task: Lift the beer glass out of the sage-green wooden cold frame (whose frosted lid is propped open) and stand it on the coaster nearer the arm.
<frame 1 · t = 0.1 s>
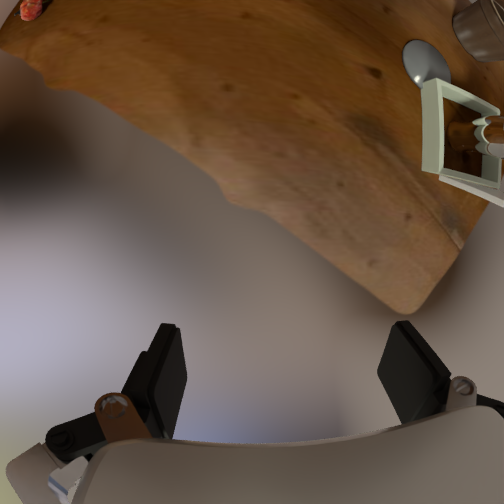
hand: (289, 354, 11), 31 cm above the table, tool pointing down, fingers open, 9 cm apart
cold frame: (457, 136, 35), on the table
coaster: (426, 67, 31), on the table
plant pot: (471, 39, 27), on the table
pomegranate: (42, 9, 24), on the table
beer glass: (457, 136, 36), resting in cold frame
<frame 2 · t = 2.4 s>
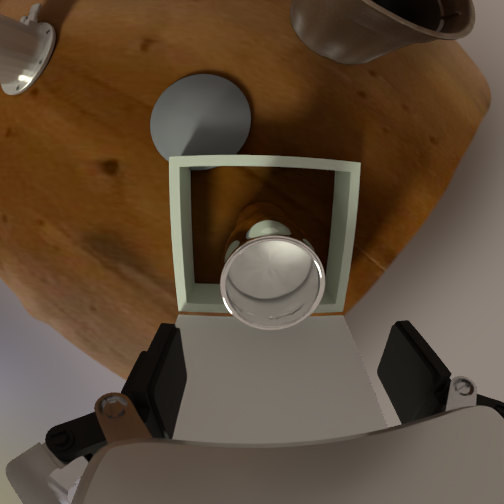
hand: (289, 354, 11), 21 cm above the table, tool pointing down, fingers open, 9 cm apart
cold frame: (262, 228, 31), on the table
coaster: (200, 121, 27), on the table
lid: (265, 378, 21), point 13 cm above the table, hinge at 96.0°
plant pot: (339, 26, 23), on the table
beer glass: (262, 227, 31), resting in cold frame
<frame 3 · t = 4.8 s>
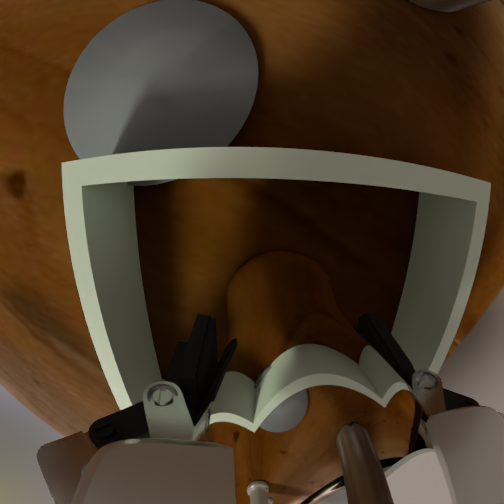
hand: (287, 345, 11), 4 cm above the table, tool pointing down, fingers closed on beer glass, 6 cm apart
cold frame: (279, 300, 15), on the table
coaster: (152, 84, 12), on the table
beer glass: (279, 299, 16), resting in cold frame, touching gripper
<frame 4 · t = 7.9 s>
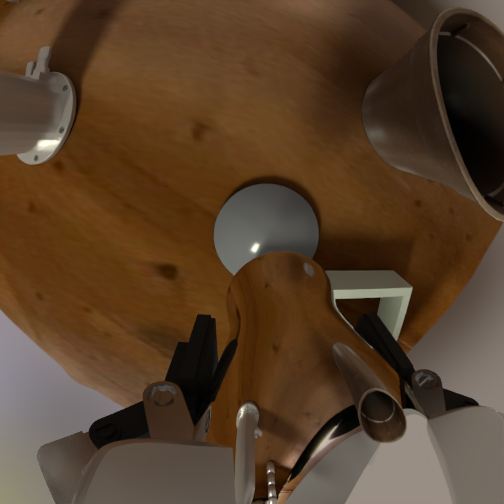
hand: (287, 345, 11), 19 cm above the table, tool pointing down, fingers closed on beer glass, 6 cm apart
cold frame: (317, 328, 33), on the table
coaster: (266, 235, 29), on the table
plant pot: (406, 123, 25), on the table
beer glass: (279, 299, 16), point 14 cm above the table, touching gripper
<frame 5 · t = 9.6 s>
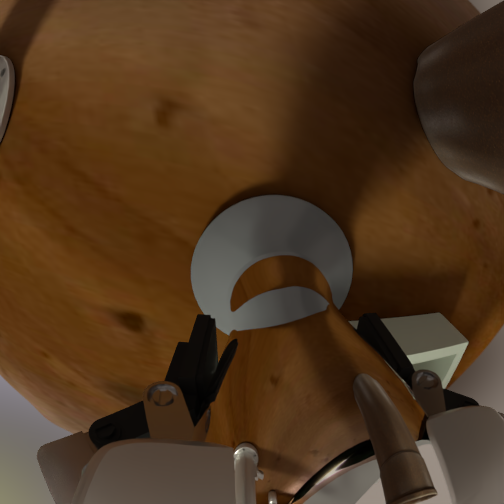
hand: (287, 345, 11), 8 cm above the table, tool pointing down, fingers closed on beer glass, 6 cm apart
cold frame: (338, 388, 23), on the table
coaster: (272, 274, 19), on the table
plant pot: (465, 112, 15), on the table
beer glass: (279, 299, 16), point 3 cm above the table, touching gripper
when the fingers open (6 cm above the table, at t = 11.0 s): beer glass stays where it is, resting on coaster.
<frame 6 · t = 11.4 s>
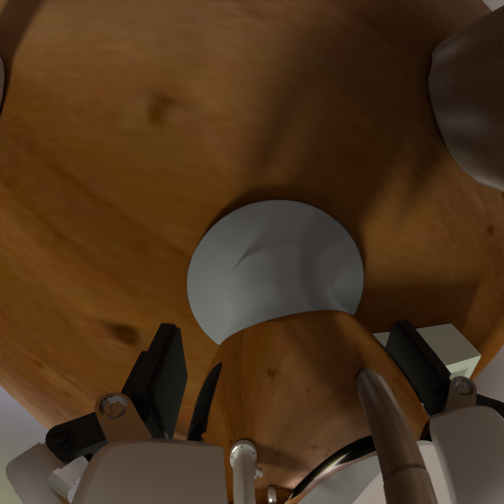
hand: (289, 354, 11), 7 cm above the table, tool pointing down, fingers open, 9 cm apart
cold frame: (343, 402, 21), on the table
coaster: (276, 287, 17), on the table
plant pot: (479, 112, 13), on the table
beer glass: (279, 290, 16), point 1 cm above the table, touching coaster
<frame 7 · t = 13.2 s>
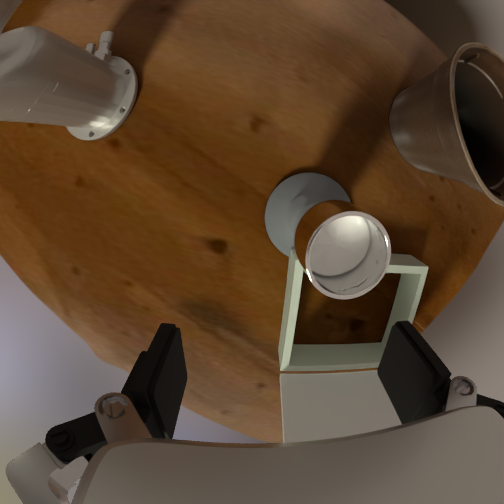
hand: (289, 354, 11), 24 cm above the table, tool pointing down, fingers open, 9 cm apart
cold frame: (346, 304, 37), on the table
coaster: (309, 216, 33), on the table
lid: (354, 419, 27), point 13 cm above the table, hinge at 96.0°
plant pot: (423, 130, 29), on the table
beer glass: (310, 217, 33), point 1 cm above the table, touching coaster
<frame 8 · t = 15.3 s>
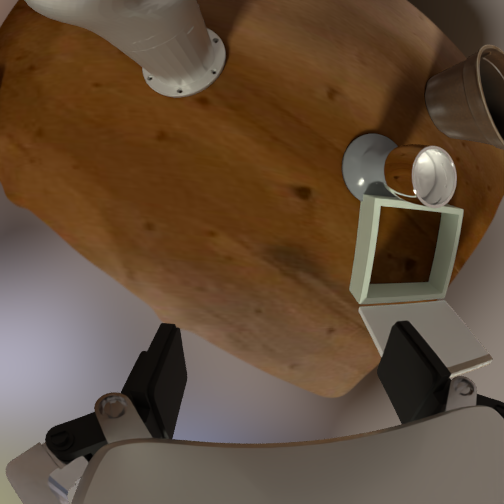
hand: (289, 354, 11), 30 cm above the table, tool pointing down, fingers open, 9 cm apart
cold frame: (402, 245, 41), on the table
coaster: (374, 169, 37), on the table
lid: (428, 337, 32), point 13 cm above the table, hinge at 96.0°
plant pot: (448, 107, 33), on the table
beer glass: (376, 168, 37), point 1 cm above the table, touching coaster
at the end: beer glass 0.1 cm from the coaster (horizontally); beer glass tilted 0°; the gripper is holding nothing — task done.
